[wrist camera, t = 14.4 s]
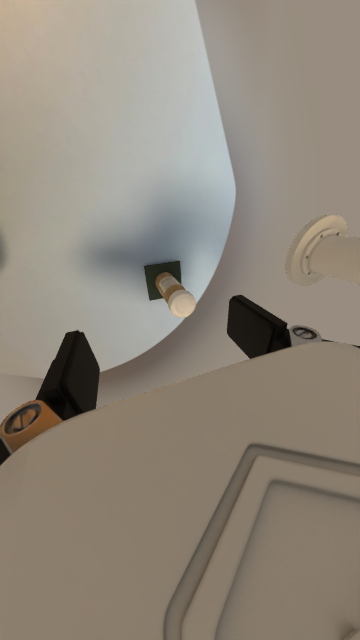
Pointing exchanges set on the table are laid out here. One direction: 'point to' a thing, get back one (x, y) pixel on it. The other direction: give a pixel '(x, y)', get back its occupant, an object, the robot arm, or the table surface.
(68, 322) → the table surface
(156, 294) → the mat
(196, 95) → the table surface
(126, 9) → the table surface
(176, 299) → the sprinkles bottle
